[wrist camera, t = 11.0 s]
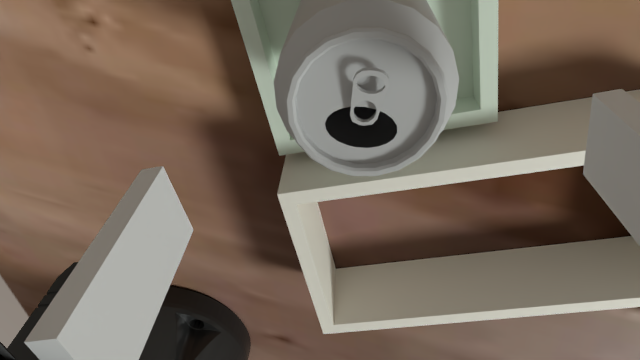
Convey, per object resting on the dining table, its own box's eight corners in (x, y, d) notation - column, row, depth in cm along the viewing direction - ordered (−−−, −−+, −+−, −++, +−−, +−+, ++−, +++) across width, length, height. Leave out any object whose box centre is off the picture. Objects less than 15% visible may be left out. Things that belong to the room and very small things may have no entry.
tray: (284, 133, 33) (279, 155, 30) (220, -86, 25) (206, -80, 23) (486, 100, 30) (497, 121, 28) (482, -153, 23) (498, -155, 20)
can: (293, 72, 29) (263, 180, 19) (304, -58, 25) (272, -4, 15) (409, 88, 29) (438, 203, 19) (440, -39, 25) (496, 26, 15)
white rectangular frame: (327, 277, 41) (323, 334, 36) (288, 145, 33) (277, 194, 28) (642, 243, 37) (687, 302, 32) (681, 82, 29) (749, 127, 24)
